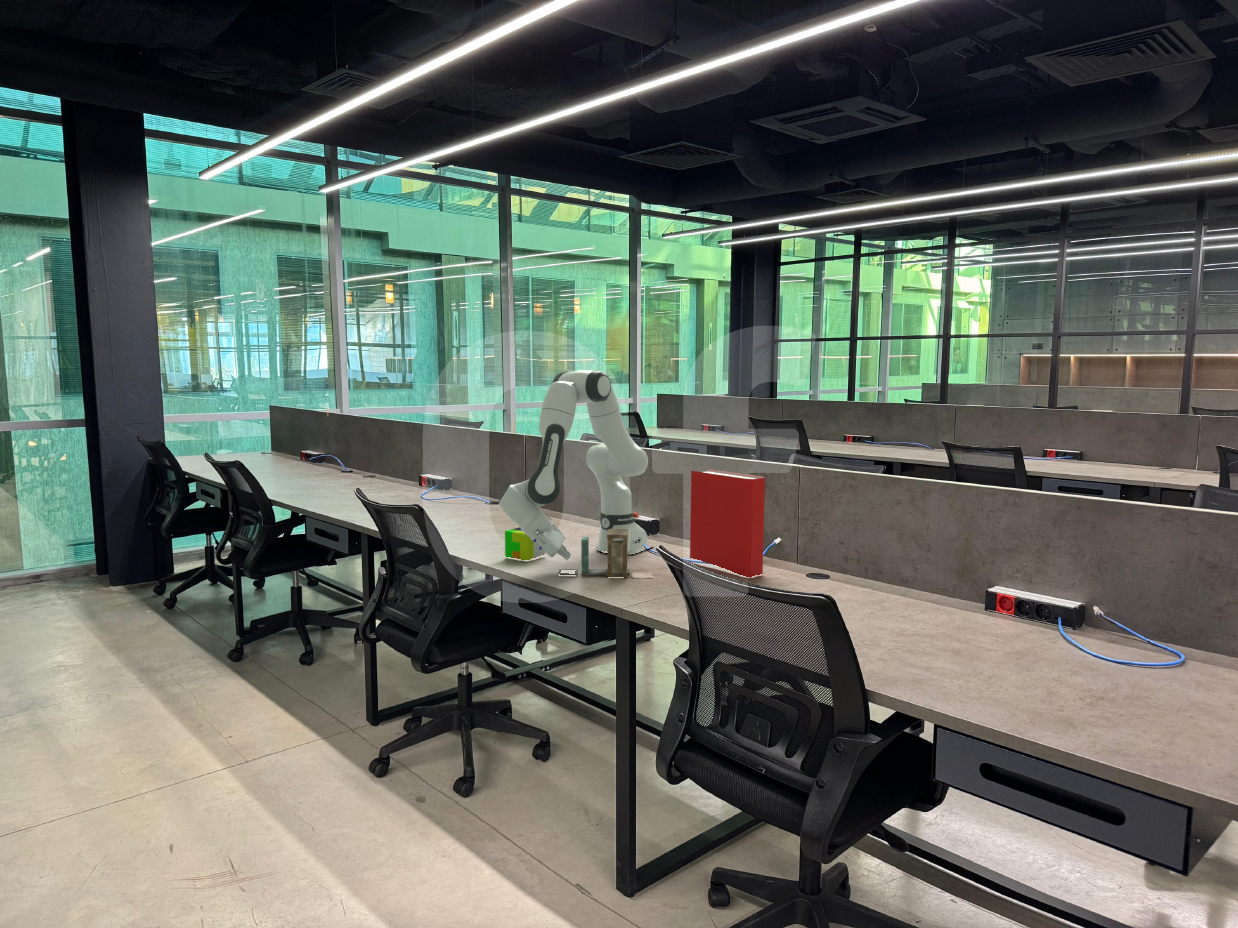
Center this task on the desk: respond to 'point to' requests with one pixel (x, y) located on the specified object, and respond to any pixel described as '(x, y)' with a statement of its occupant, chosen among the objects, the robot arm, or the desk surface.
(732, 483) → the book
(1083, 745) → the desk surface
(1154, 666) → the desk surface
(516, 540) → the puzzle toy
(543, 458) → the robot arm
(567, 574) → the tray
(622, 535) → the tunnel
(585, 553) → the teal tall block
